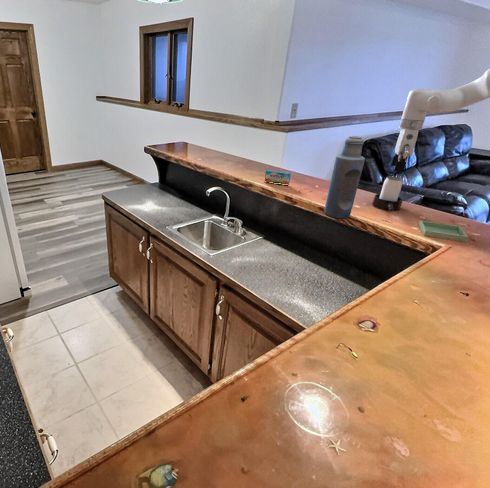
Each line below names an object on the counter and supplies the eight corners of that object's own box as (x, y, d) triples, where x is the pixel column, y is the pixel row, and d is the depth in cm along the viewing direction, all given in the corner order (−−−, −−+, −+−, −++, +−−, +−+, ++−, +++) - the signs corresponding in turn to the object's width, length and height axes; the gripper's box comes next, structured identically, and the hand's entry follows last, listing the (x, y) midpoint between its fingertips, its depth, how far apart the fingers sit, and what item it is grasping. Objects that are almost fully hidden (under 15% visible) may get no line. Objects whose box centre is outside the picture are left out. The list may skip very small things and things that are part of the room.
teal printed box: (264, 182, 177) (265, 170, 175) (265, 182, 179) (266, 170, 176) (288, 186, 172) (290, 174, 169) (289, 185, 173) (291, 173, 171)
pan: (397, 204, 150) (400, 195, 148) (404, 219, 135) (407, 209, 133) (371, 201, 154) (374, 192, 152) (375, 215, 138) (377, 205, 137)
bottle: (330, 218, 134) (349, 138, 121) (319, 209, 143) (336, 134, 130) (354, 218, 135) (376, 139, 121) (342, 209, 144) (361, 134, 130)
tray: (458, 231, 125) (460, 226, 124) (466, 242, 117) (468, 237, 116) (418, 225, 130) (419, 220, 129) (423, 235, 121) (425, 230, 121)
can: (377, 202, 151) (385, 175, 146) (394, 205, 149) (403, 177, 143) (376, 206, 146) (385, 178, 141) (394, 209, 144) (403, 181, 138)
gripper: (427, 128, 124) (411, 175, 132) (418, 122, 139) (404, 165, 146) (402, 126, 127) (388, 172, 135) (396, 120, 141) (384, 162, 149)
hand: (396, 168), depth 141 cm, fingers open, 9 cm apart
